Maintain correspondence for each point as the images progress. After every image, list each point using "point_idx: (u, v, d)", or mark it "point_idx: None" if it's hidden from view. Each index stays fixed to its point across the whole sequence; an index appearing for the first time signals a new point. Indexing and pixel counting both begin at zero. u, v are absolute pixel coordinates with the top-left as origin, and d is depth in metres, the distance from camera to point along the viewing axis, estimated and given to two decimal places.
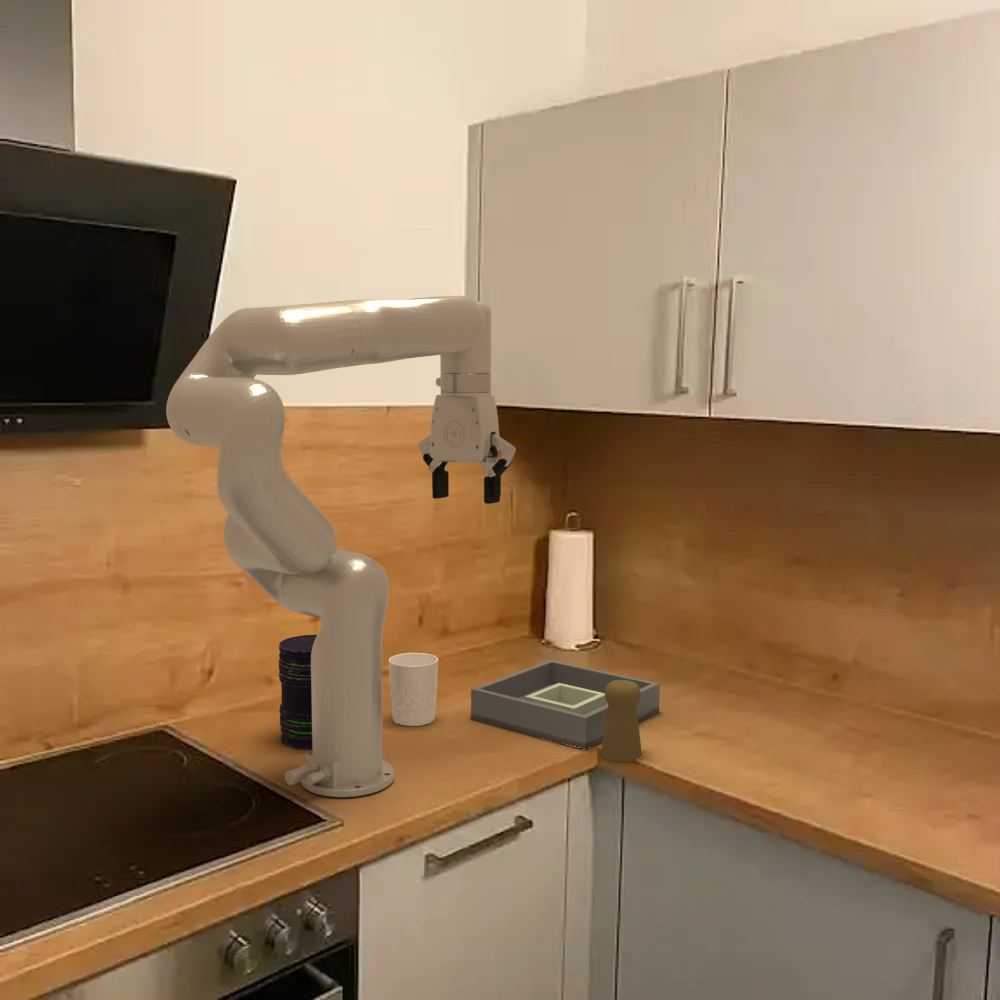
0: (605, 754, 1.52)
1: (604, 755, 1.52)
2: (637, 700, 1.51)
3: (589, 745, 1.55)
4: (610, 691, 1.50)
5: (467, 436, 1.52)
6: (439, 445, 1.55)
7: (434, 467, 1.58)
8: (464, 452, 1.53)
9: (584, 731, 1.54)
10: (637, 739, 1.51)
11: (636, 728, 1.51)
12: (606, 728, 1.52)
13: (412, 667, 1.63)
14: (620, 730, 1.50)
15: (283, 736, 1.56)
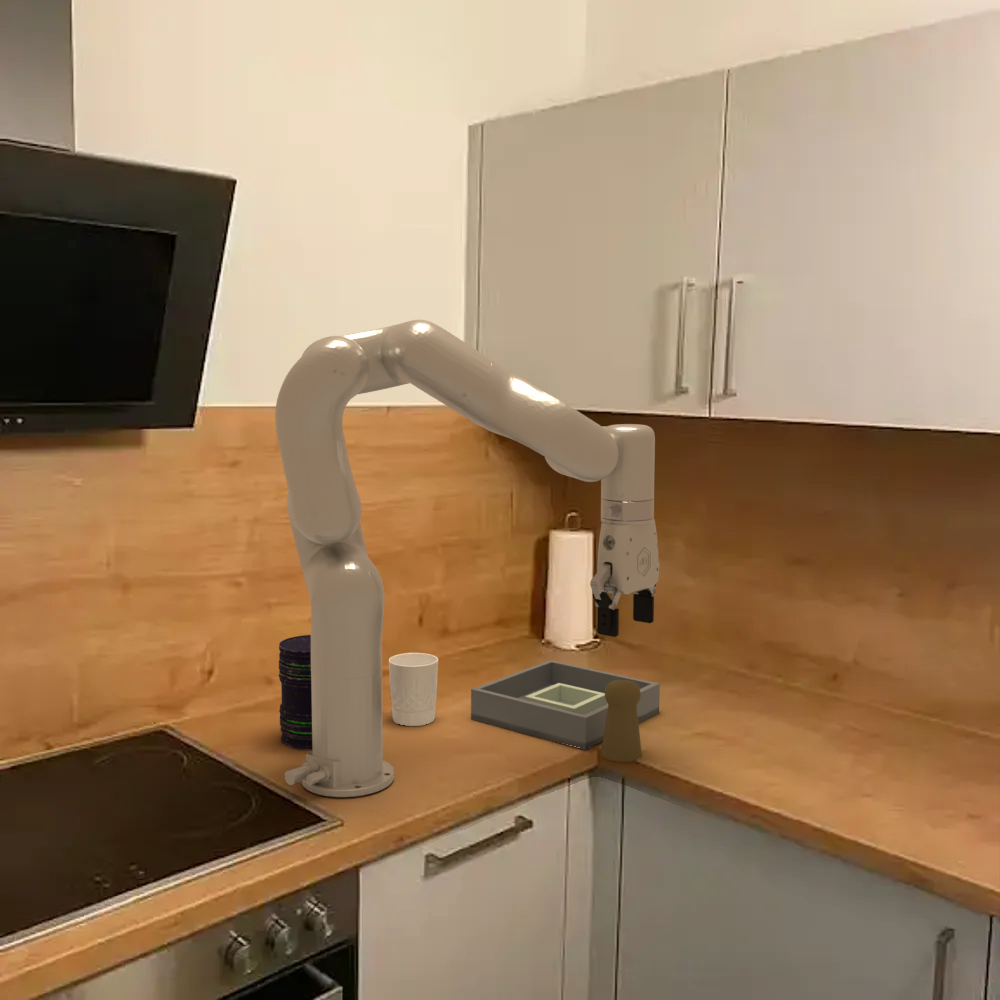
0: (605, 754, 1.52)
1: (604, 755, 1.52)
2: (637, 700, 1.51)
3: (589, 745, 1.55)
4: (610, 691, 1.50)
5: (652, 560, 1.50)
6: (633, 577, 1.46)
7: (615, 603, 1.46)
8: (650, 577, 1.50)
9: (584, 731, 1.54)
10: (637, 739, 1.51)
11: (636, 728, 1.51)
12: (606, 728, 1.52)
13: (412, 667, 1.63)
14: (620, 730, 1.50)
15: (283, 736, 1.56)
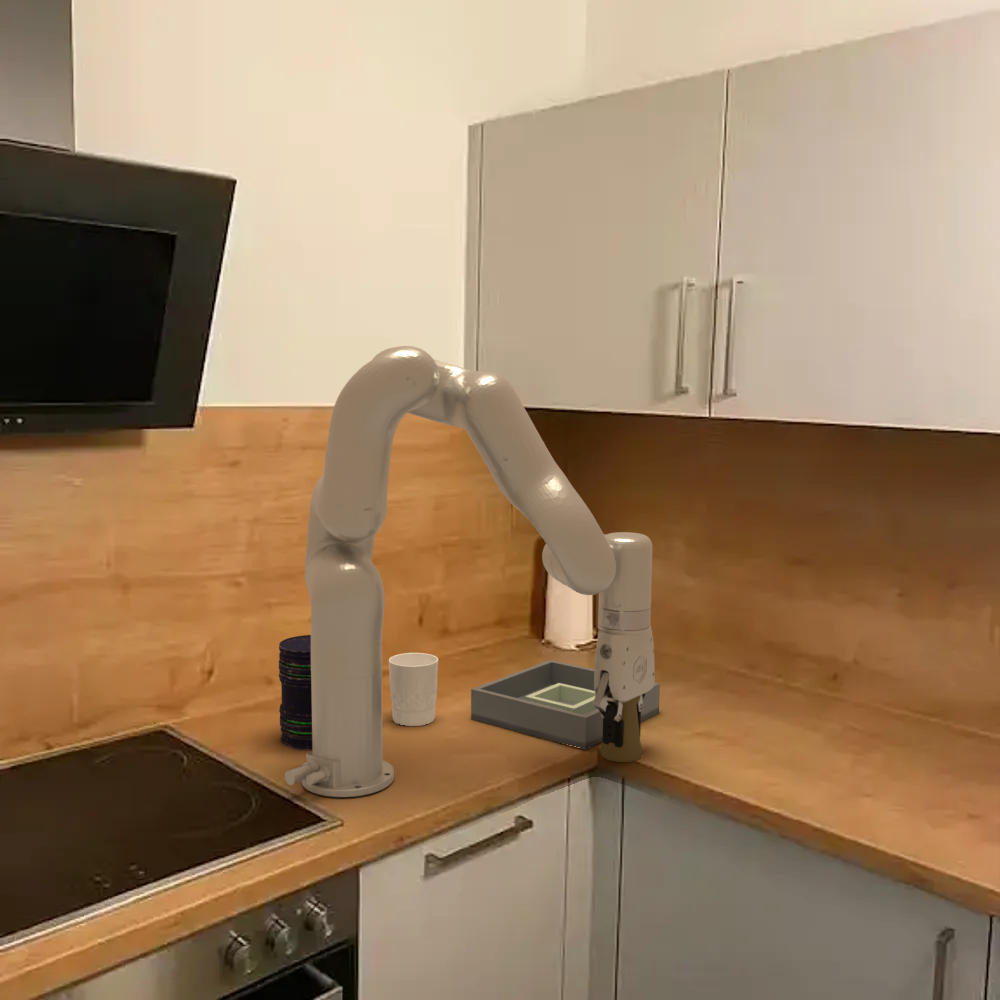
0: (605, 754, 1.52)
1: (604, 755, 1.52)
2: (637, 700, 1.51)
3: (589, 745, 1.55)
4: None
5: (648, 667, 1.52)
6: (629, 685, 1.48)
7: (620, 713, 1.49)
8: (646, 683, 1.52)
9: (584, 731, 1.54)
10: (637, 739, 1.51)
11: (636, 728, 1.51)
12: None
13: (412, 667, 1.63)
14: None
15: (283, 736, 1.56)
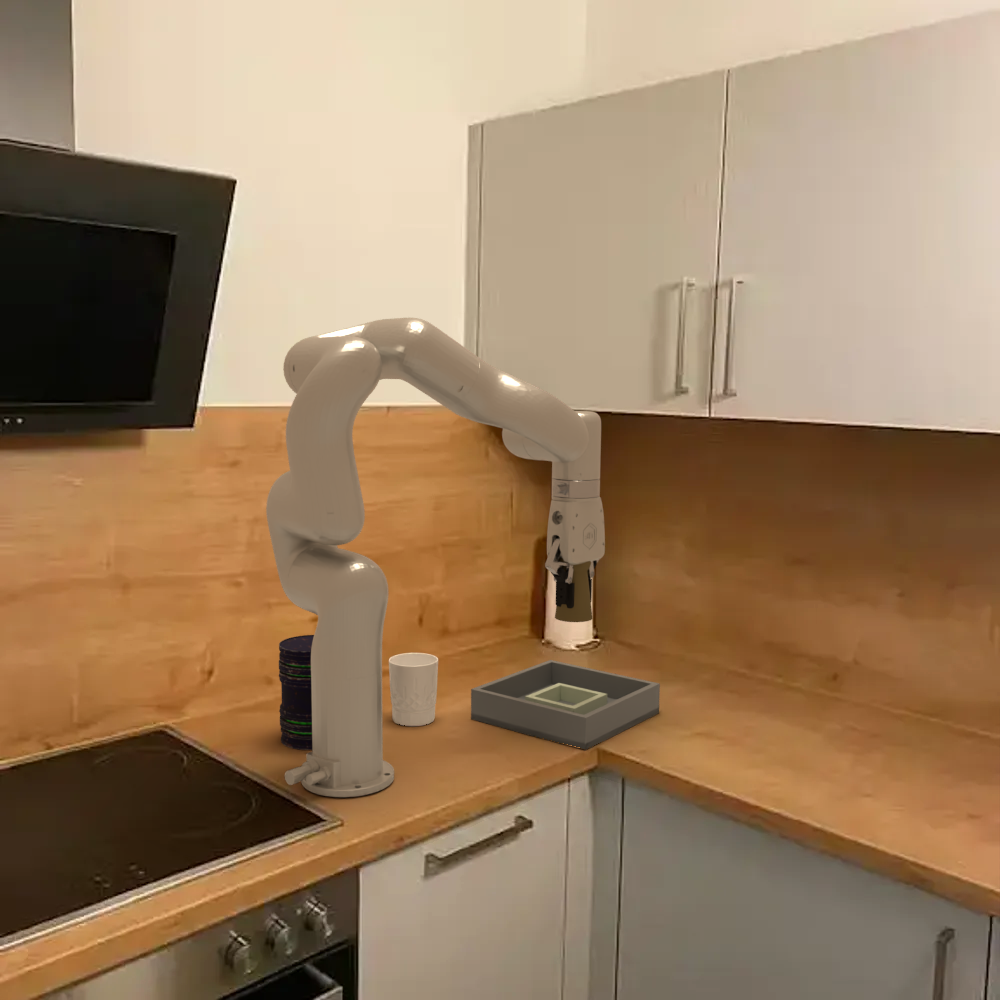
0: (558, 616, 1.64)
1: (557, 617, 1.65)
2: (587, 565, 1.63)
3: (589, 745, 1.55)
4: None
5: (598, 535, 1.64)
6: (578, 549, 1.61)
7: (571, 576, 1.62)
8: (596, 551, 1.64)
9: (584, 731, 1.54)
10: (587, 602, 1.64)
11: (587, 591, 1.64)
12: None
13: (412, 667, 1.63)
14: None
15: (283, 736, 1.56)
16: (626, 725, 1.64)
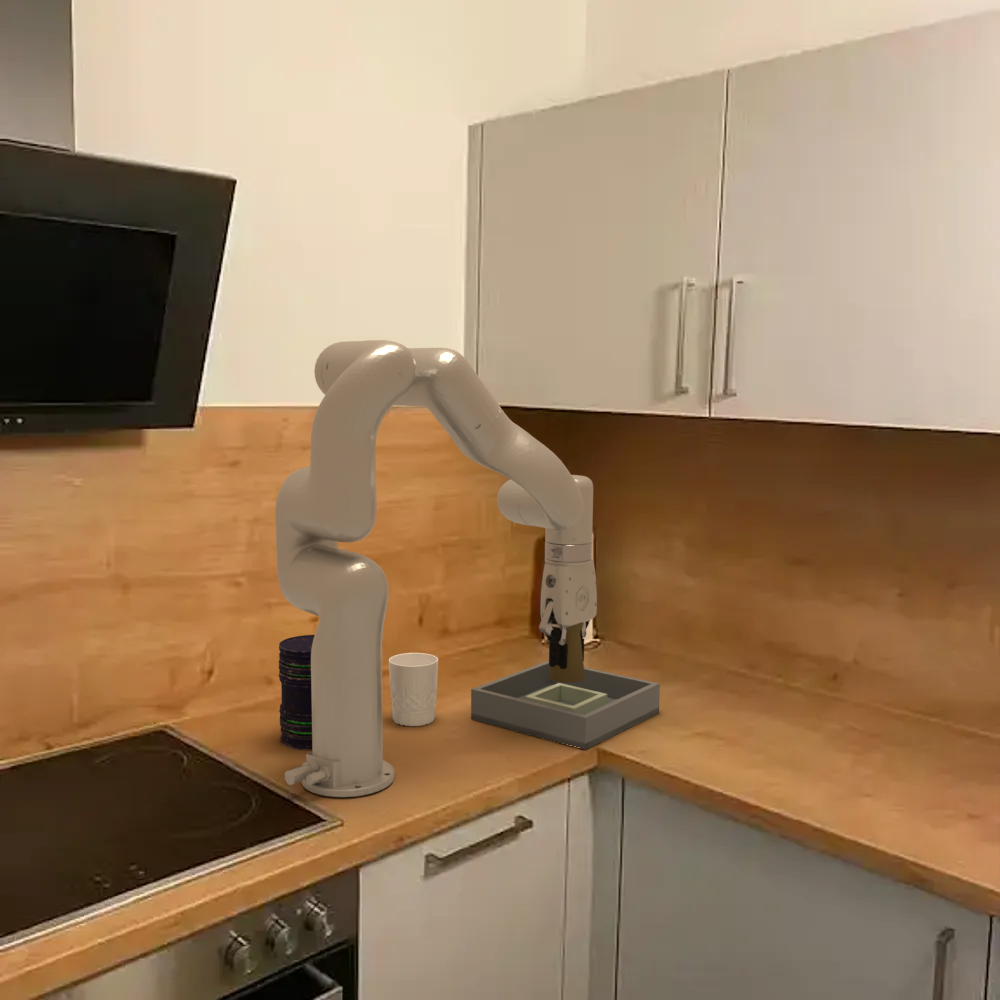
0: (551, 676, 1.68)
1: (550, 677, 1.68)
2: (580, 626, 1.66)
3: (589, 745, 1.55)
4: None
5: (590, 597, 1.68)
6: (571, 612, 1.64)
7: (564, 638, 1.65)
8: (588, 612, 1.68)
9: (584, 731, 1.54)
10: (580, 662, 1.67)
11: (579, 652, 1.67)
12: None
13: (412, 667, 1.63)
14: None
15: (283, 736, 1.56)
16: (626, 725, 1.64)
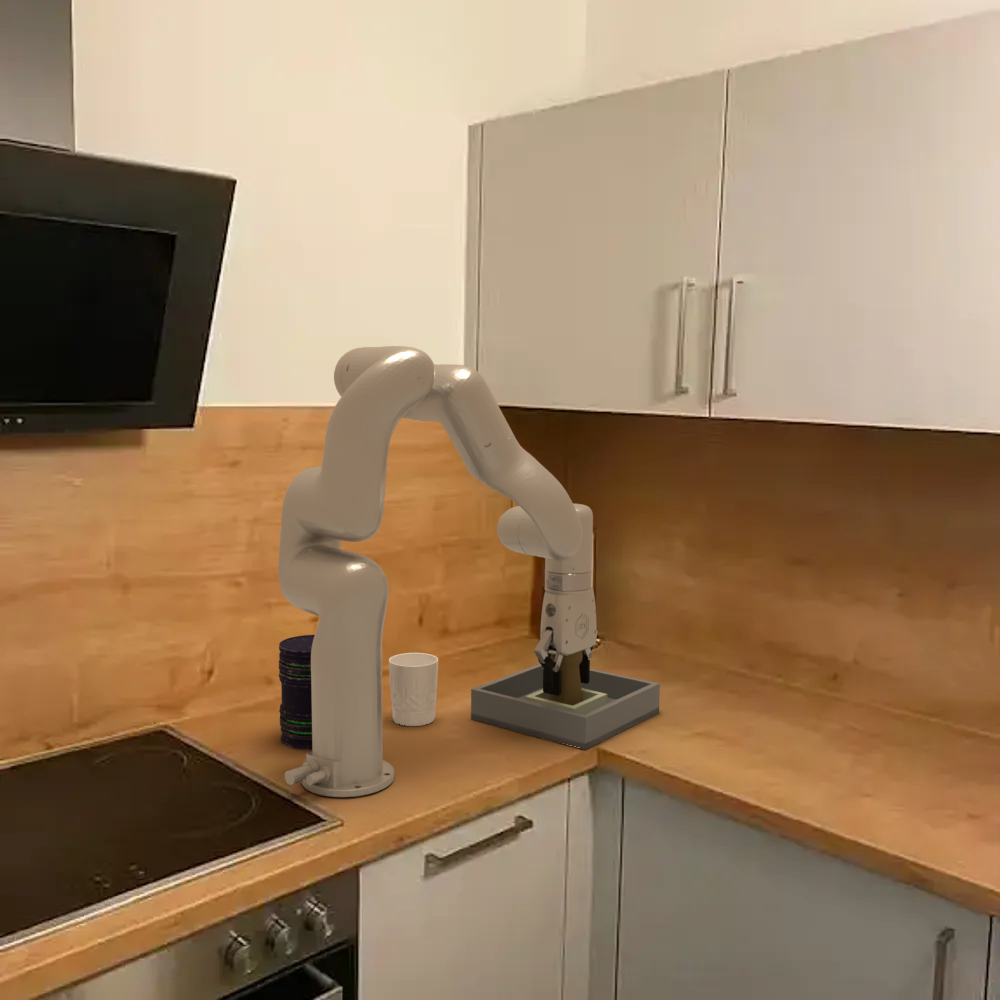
0: None
1: None
2: (579, 660, 1.67)
3: (589, 745, 1.55)
4: None
5: (590, 625, 1.68)
6: (571, 641, 1.64)
7: (558, 665, 1.65)
8: (588, 640, 1.68)
9: (584, 731, 1.54)
10: (579, 696, 1.68)
11: (578, 686, 1.68)
12: None
13: (412, 667, 1.63)
14: (564, 688, 1.67)
15: (283, 736, 1.56)
16: (626, 725, 1.64)
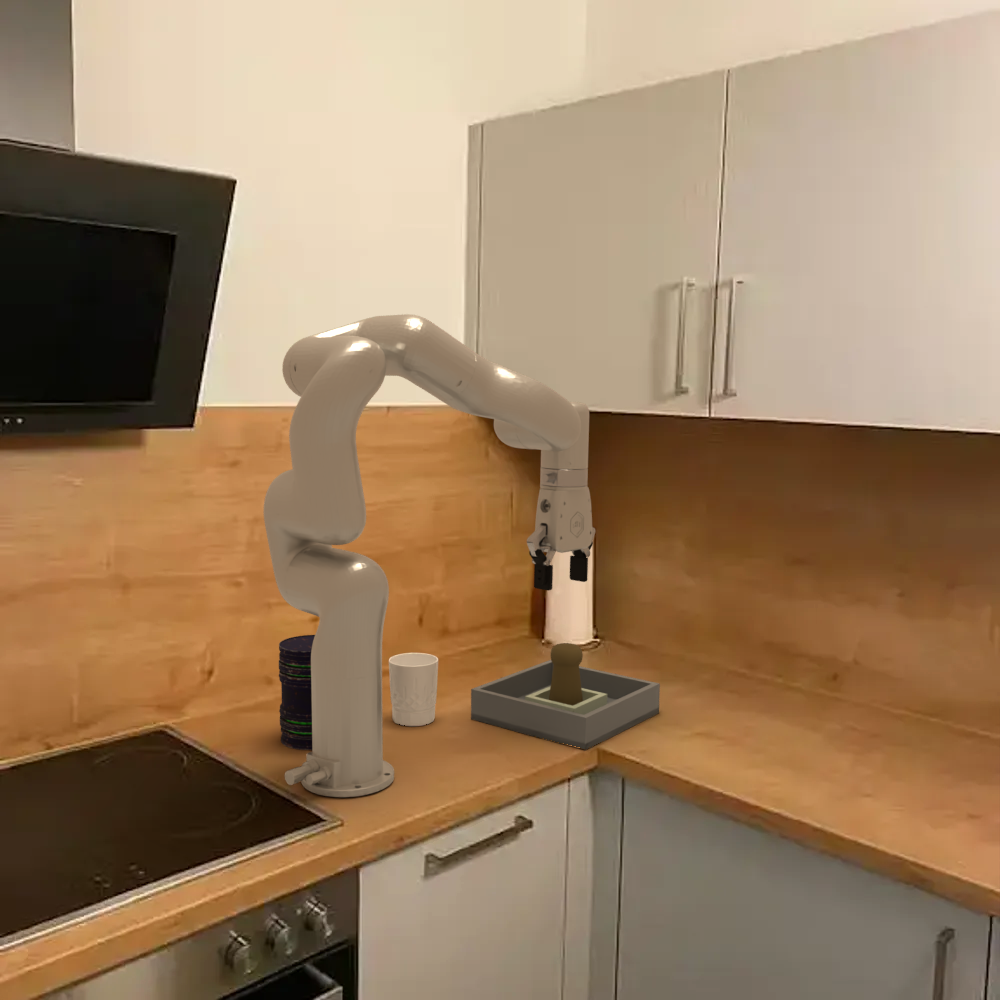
0: None
1: None
2: (579, 660, 1.67)
3: (589, 745, 1.55)
4: (555, 653, 1.67)
5: (585, 524, 1.67)
6: (566, 537, 1.63)
7: (550, 560, 1.63)
8: (583, 539, 1.67)
9: (584, 731, 1.54)
10: (579, 696, 1.68)
11: (578, 686, 1.68)
12: (551, 686, 1.68)
13: (412, 667, 1.63)
14: (564, 688, 1.67)
15: (283, 736, 1.56)
16: (626, 725, 1.64)
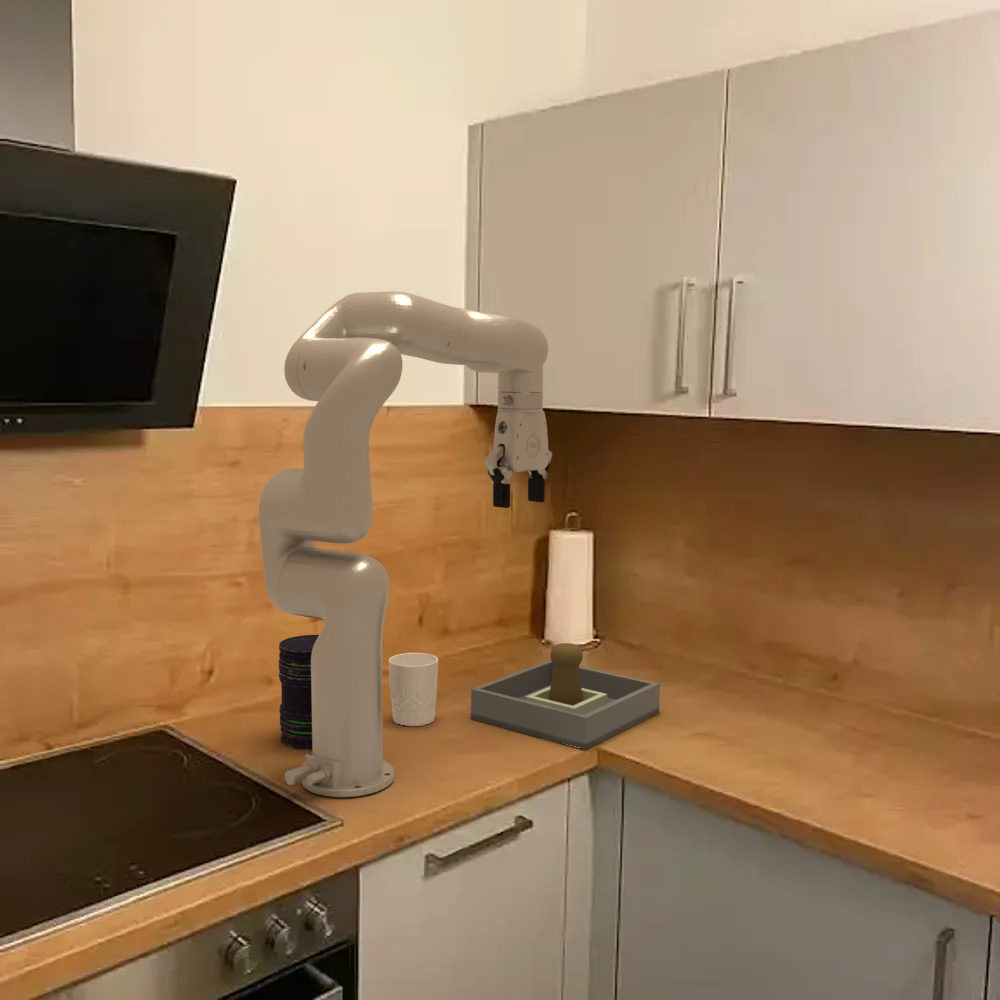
0: None
1: None
2: (579, 660, 1.67)
3: (589, 745, 1.55)
4: (555, 653, 1.67)
5: (541, 446, 1.76)
6: (522, 457, 1.72)
7: (507, 479, 1.72)
8: (539, 460, 1.76)
9: (584, 731, 1.54)
10: (579, 696, 1.68)
11: (578, 686, 1.68)
12: (551, 686, 1.68)
13: (412, 667, 1.63)
14: (564, 688, 1.67)
15: (283, 736, 1.56)
16: (626, 725, 1.64)
